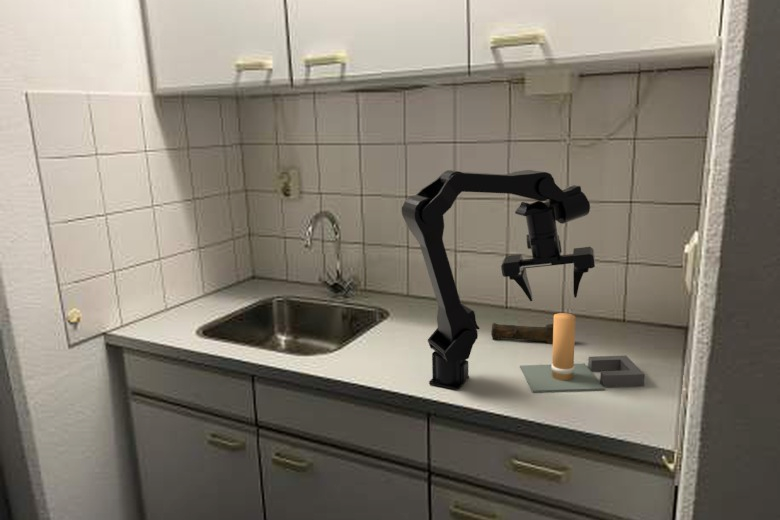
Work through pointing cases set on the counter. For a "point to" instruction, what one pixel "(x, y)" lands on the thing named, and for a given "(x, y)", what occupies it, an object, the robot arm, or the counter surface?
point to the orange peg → (563, 346)
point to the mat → (544, 382)
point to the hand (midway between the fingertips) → (553, 298)
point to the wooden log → (523, 332)
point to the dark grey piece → (616, 371)
